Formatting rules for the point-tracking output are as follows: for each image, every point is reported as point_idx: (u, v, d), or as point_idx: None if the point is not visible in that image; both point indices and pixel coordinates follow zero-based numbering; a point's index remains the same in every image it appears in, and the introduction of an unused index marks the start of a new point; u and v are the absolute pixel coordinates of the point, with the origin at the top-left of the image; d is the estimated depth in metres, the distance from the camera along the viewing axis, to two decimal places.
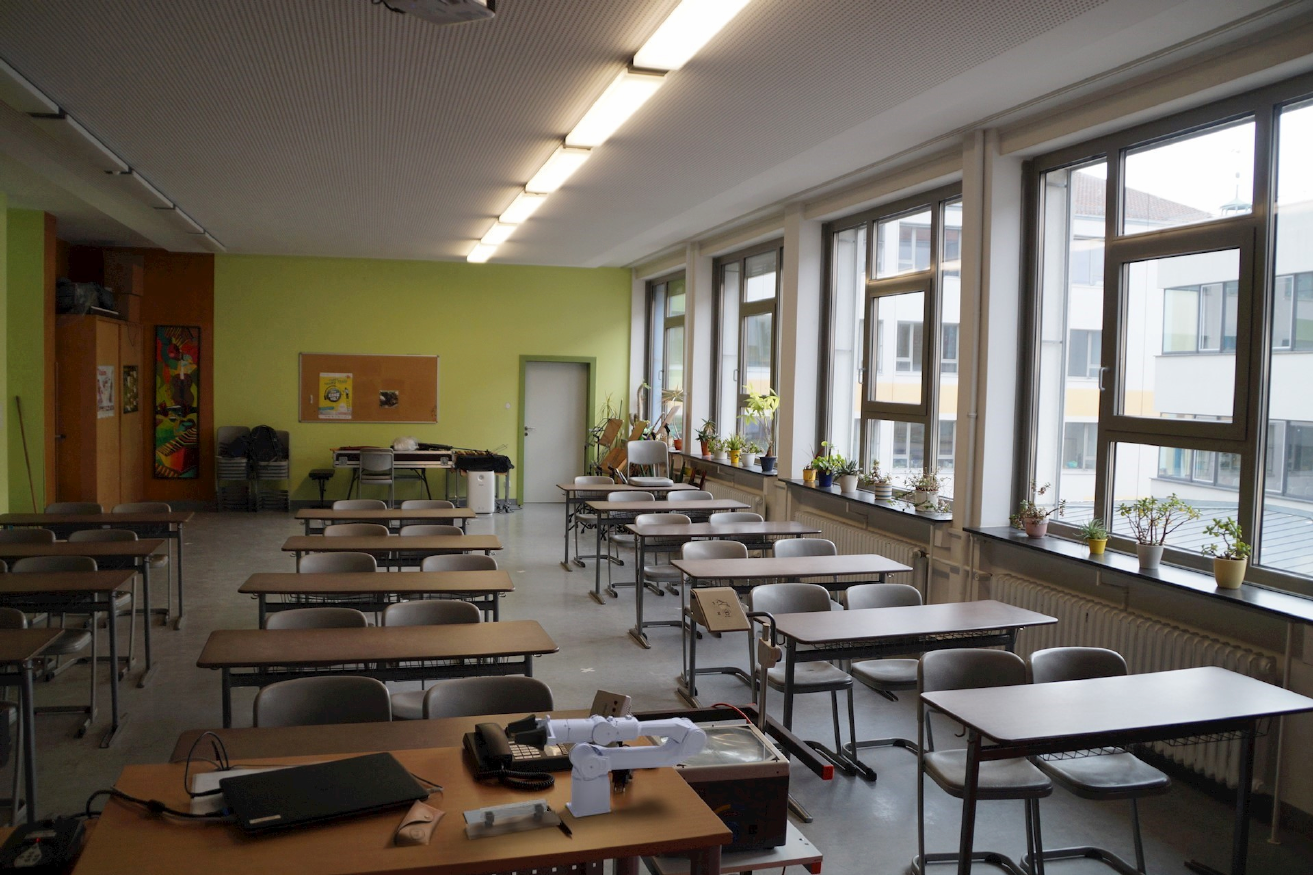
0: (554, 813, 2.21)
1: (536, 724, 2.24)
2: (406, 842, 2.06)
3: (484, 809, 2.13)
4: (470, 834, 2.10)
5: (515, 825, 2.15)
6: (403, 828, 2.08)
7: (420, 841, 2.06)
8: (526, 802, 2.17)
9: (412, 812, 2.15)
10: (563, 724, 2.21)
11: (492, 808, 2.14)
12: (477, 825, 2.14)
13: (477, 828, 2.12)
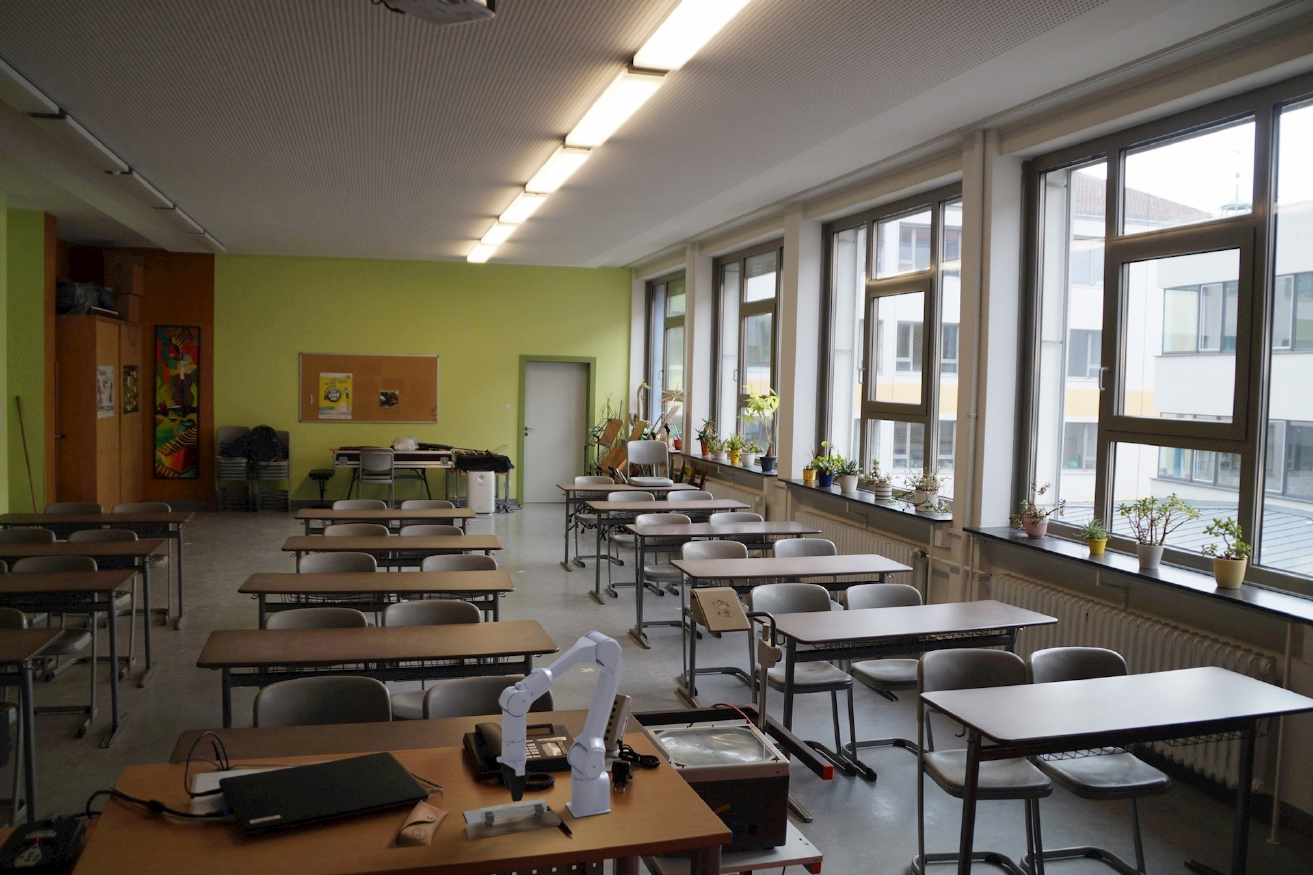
0: (554, 813, 2.21)
1: None
2: (408, 843, 2.06)
3: (484, 809, 2.13)
4: (470, 834, 2.10)
5: (515, 825, 2.15)
6: (405, 828, 2.08)
7: (422, 842, 2.06)
8: (526, 802, 2.17)
9: (415, 812, 2.15)
10: (506, 746, 2.13)
11: (492, 808, 2.14)
12: (477, 825, 2.14)
13: (477, 828, 2.12)
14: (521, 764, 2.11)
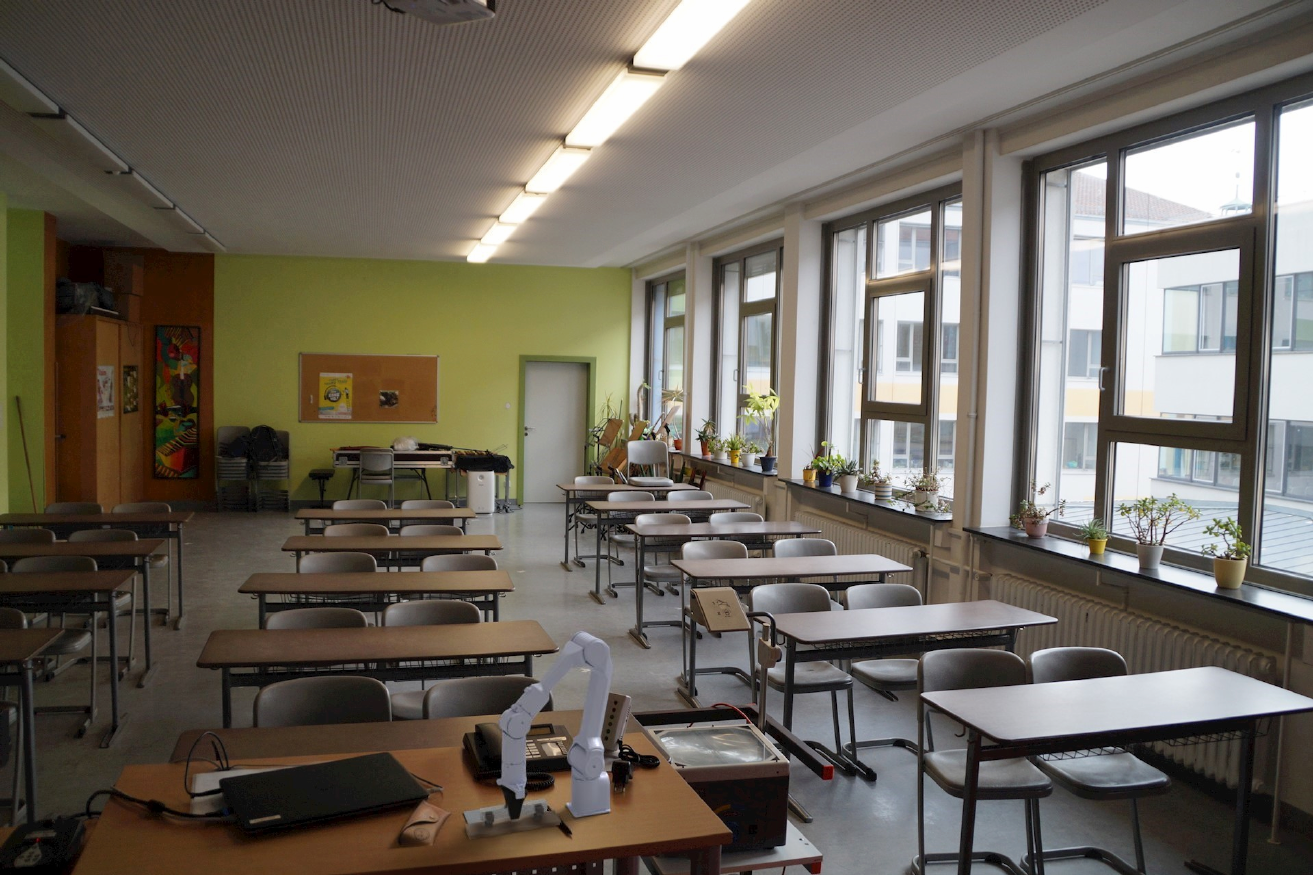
0: (554, 813, 2.21)
1: None
2: (410, 843, 2.06)
3: (484, 809, 2.13)
4: (470, 834, 2.10)
5: (515, 825, 2.15)
6: (408, 828, 2.08)
7: (424, 842, 2.06)
8: (526, 802, 2.17)
9: (417, 812, 2.15)
10: (505, 768, 2.13)
11: (492, 808, 2.14)
12: (477, 825, 2.14)
13: (477, 828, 2.12)
14: (521, 787, 2.12)
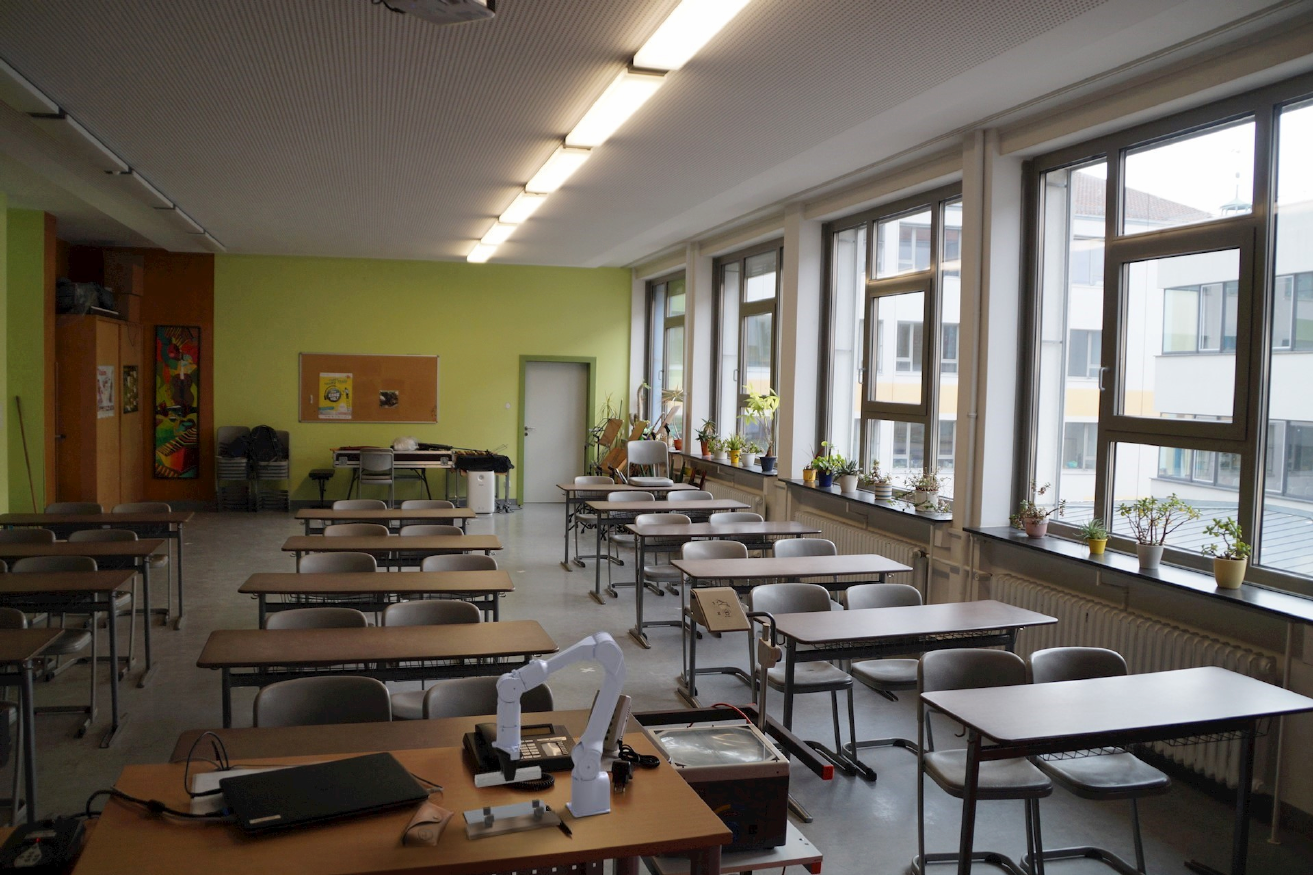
0: (554, 813, 2.21)
1: None
2: (414, 843, 2.06)
3: (479, 776, 2.19)
4: (470, 834, 2.10)
5: (515, 825, 2.15)
6: (411, 828, 2.08)
7: (428, 842, 2.06)
8: (520, 769, 2.23)
9: (421, 812, 2.15)
10: (501, 731, 2.18)
11: (487, 775, 2.19)
12: (477, 825, 2.14)
13: (477, 828, 2.12)
14: (516, 749, 2.17)
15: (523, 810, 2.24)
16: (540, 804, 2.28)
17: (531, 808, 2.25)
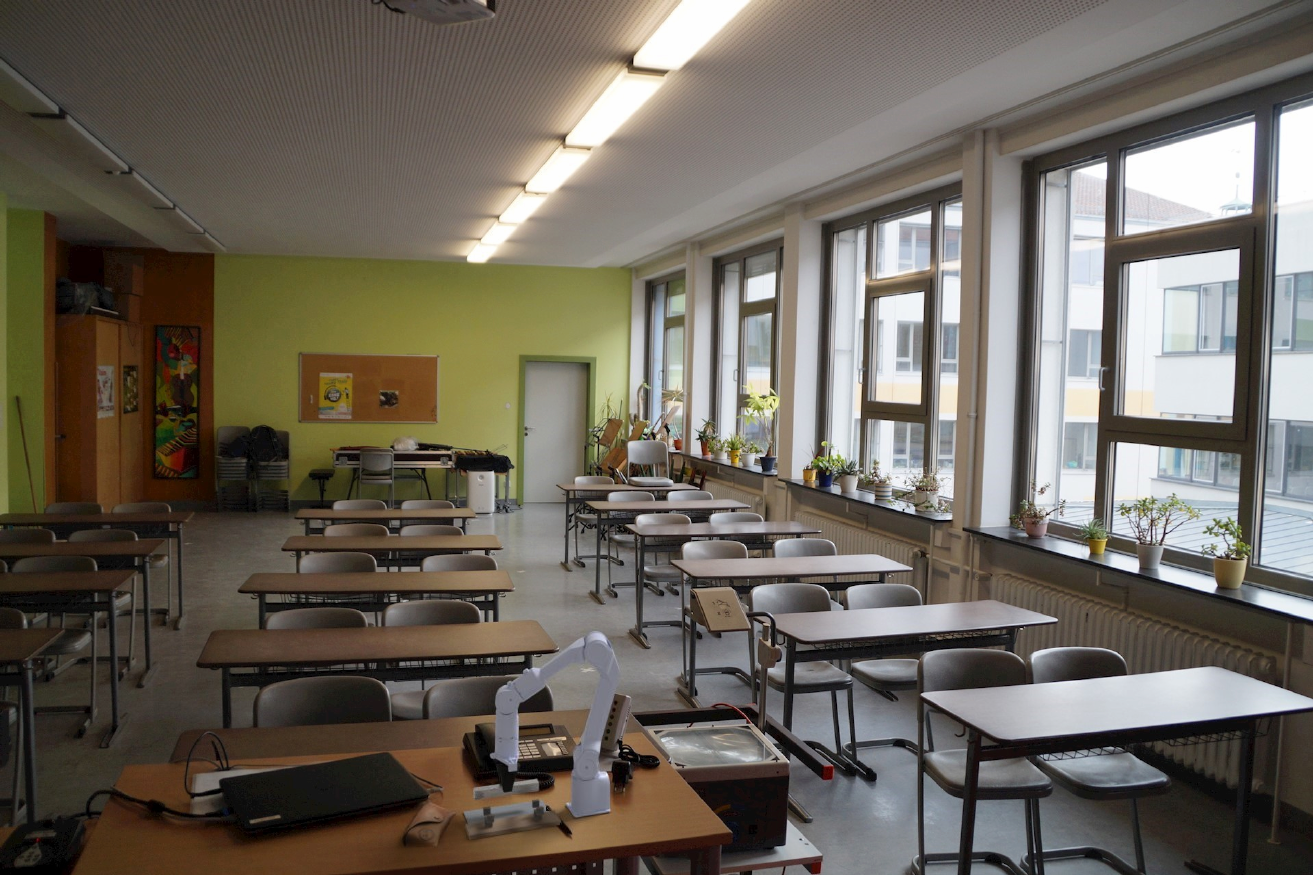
0: (554, 813, 2.21)
1: None
2: (415, 843, 2.06)
3: (478, 788, 2.21)
4: (470, 834, 2.10)
5: (515, 825, 2.15)
6: (412, 828, 2.08)
7: (429, 842, 2.06)
8: (518, 782, 2.25)
9: (422, 812, 2.15)
10: (499, 743, 2.21)
11: (485, 788, 2.21)
12: (477, 825, 2.14)
13: (477, 828, 2.12)
14: (513, 760, 2.19)
15: (523, 810, 2.24)
16: (540, 804, 2.28)
17: (531, 808, 2.25)
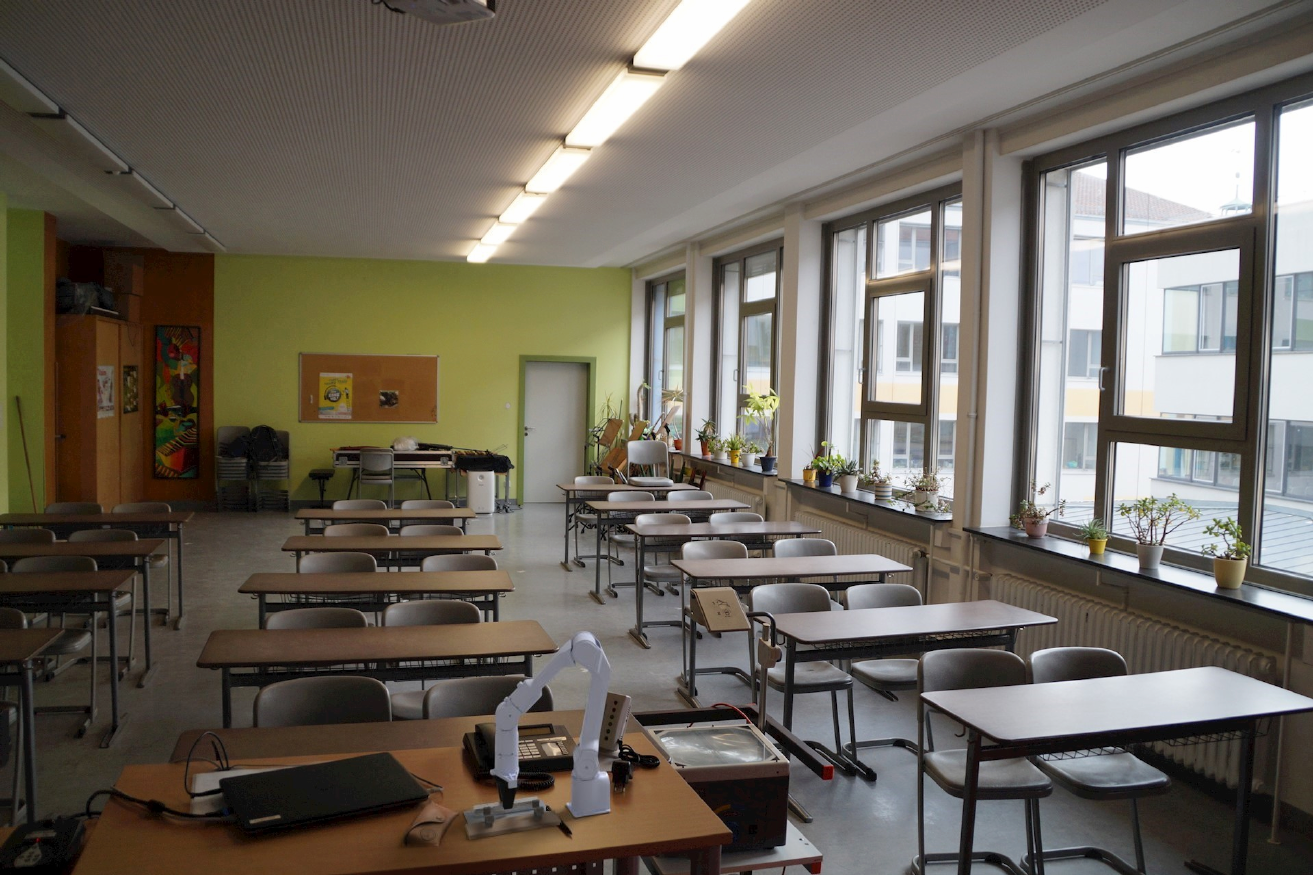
0: (554, 813, 2.21)
1: None
2: (416, 843, 2.06)
3: (478, 806, 2.21)
4: (470, 834, 2.10)
5: (515, 825, 2.15)
6: (414, 828, 2.08)
7: (430, 842, 2.06)
8: (518, 800, 2.25)
9: (424, 812, 2.15)
10: (498, 759, 2.21)
11: (485, 806, 2.21)
12: (477, 825, 2.14)
13: (477, 828, 2.12)
14: (513, 776, 2.19)
15: None
16: (540, 804, 2.28)
17: None
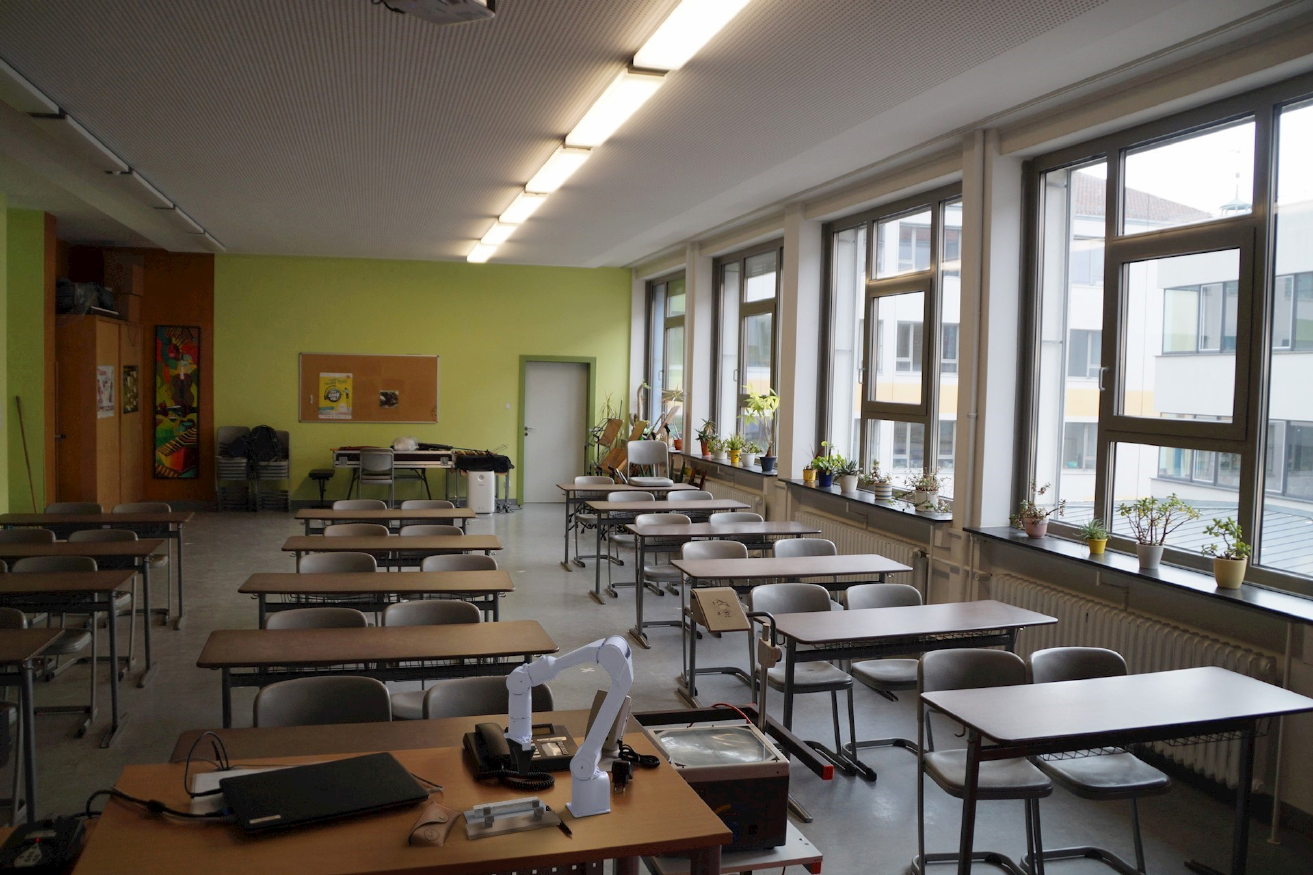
0: (554, 813, 2.21)
1: None
2: (420, 843, 2.06)
3: (478, 806, 2.21)
4: (470, 834, 2.10)
5: (515, 825, 2.15)
6: (418, 829, 2.07)
7: (434, 842, 2.06)
8: (518, 800, 2.25)
9: (427, 813, 2.15)
10: (512, 723, 2.25)
11: (485, 806, 2.21)
12: (477, 825, 2.14)
13: (477, 828, 2.12)
14: (527, 739, 2.23)
15: None
16: (540, 804, 2.28)
17: None
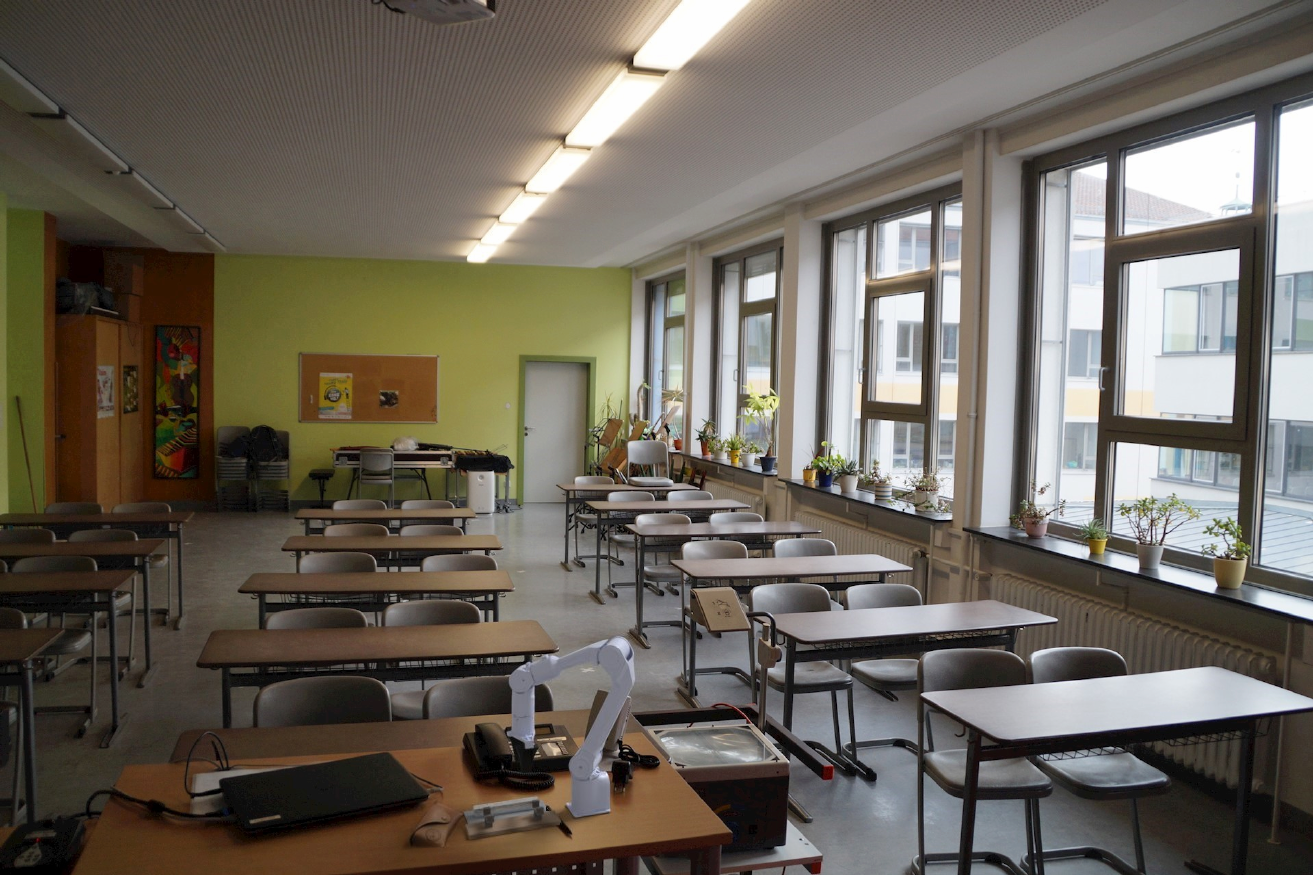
0: (554, 813, 2.21)
1: None
2: (422, 843, 2.06)
3: (478, 806, 2.21)
4: (470, 834, 2.10)
5: (515, 825, 2.15)
6: (419, 829, 2.07)
7: (435, 843, 2.06)
8: (518, 800, 2.25)
9: (430, 813, 2.15)
10: (515, 721, 2.26)
11: (485, 806, 2.21)
12: (477, 825, 2.14)
13: (477, 828, 2.12)
14: (530, 738, 2.24)
15: None
16: (540, 804, 2.28)
17: None
